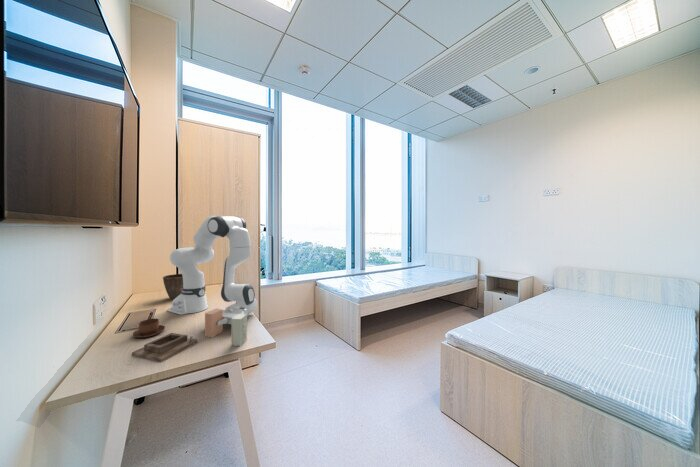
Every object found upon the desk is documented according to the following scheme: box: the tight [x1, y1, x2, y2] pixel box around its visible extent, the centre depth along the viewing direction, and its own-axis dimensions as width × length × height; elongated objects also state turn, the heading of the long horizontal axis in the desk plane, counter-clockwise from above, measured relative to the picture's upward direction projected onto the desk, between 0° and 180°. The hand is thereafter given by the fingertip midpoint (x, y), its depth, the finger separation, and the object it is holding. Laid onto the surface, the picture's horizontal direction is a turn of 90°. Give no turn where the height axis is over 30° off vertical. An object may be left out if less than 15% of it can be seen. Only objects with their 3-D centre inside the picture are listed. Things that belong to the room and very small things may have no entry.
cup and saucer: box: [132, 318, 166, 339], centre depth 116 cm, size 12×12×6 cm
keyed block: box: [204, 308, 224, 338], centre depth 117 cm, size 4×6×11 cm, turn 165°
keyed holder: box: [131, 332, 199, 363], centre depth 103 cm, size 16×16×4 cm
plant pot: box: [162, 273, 183, 301], centre depth 171 cm, size 15×15×16 cm
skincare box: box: [230, 314, 248, 347], centre depth 108 cm, size 6×4×12 cm
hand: (212, 323), depth 116 cm, fingers closed on keyed block, 4 cm apart
